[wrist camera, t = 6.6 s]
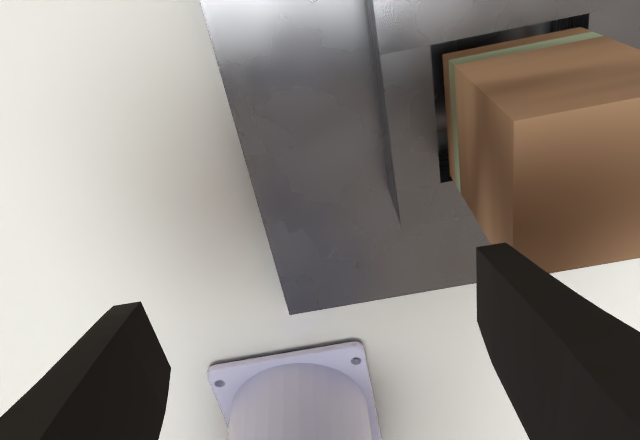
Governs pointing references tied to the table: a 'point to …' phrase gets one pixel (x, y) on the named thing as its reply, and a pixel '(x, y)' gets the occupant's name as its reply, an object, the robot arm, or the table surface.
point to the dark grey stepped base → (367, 131)
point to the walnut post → (549, 145)
